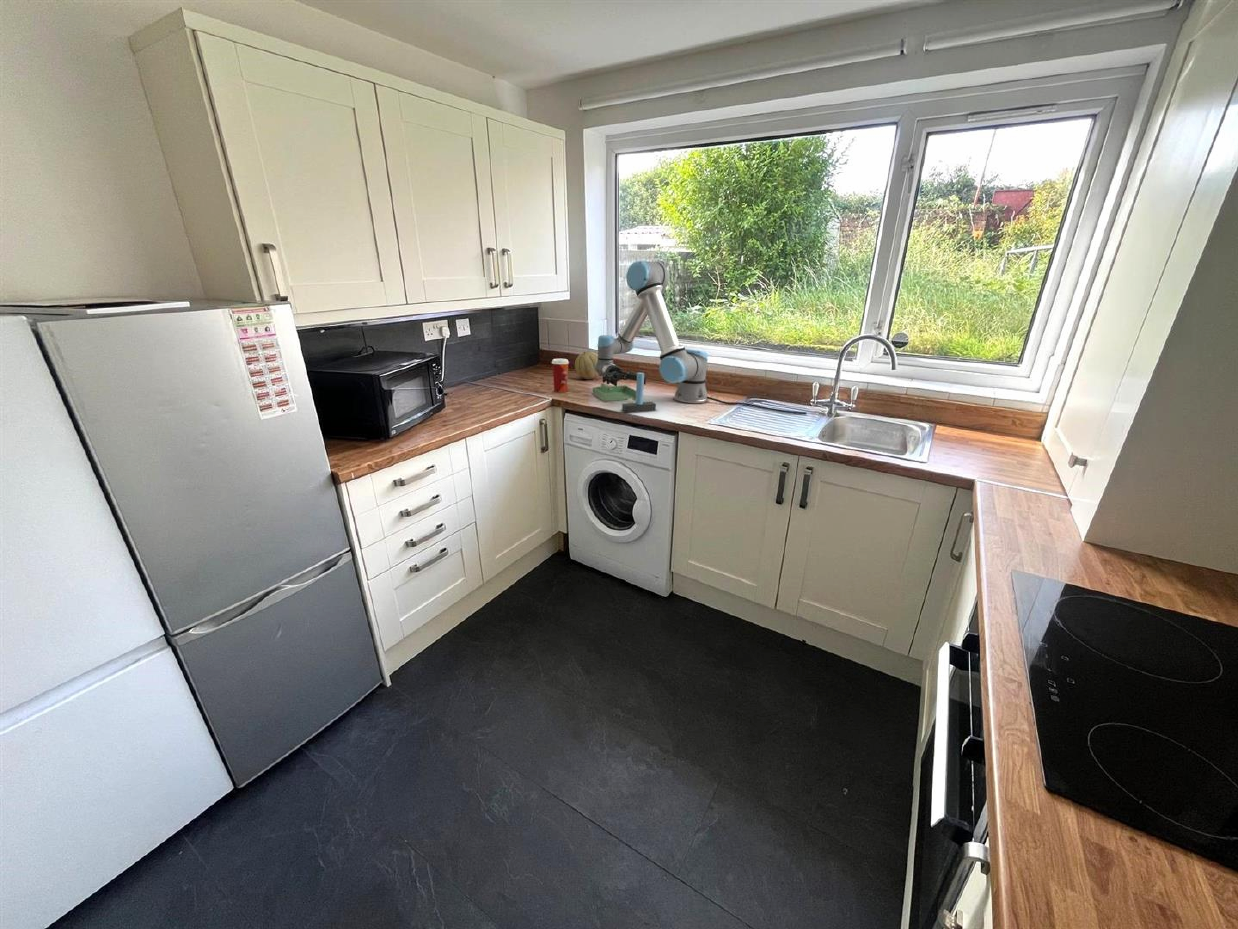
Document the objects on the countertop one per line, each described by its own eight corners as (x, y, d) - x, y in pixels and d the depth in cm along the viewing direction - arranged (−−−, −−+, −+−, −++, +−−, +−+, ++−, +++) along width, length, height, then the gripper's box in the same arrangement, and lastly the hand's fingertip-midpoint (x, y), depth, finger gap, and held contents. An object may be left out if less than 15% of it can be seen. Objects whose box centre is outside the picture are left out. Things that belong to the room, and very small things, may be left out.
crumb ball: (634, 405, 221) (635, 397, 220) (632, 406, 218) (632, 399, 217) (627, 404, 222) (628, 397, 220) (625, 405, 219) (625, 398, 218)
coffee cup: (568, 393, 238) (567, 361, 232) (550, 392, 238) (550, 360, 232) (570, 389, 245) (569, 358, 240) (553, 388, 245) (552, 357, 240)
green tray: (638, 398, 231) (638, 391, 230) (603, 401, 225) (603, 394, 224) (617, 387, 252) (618, 381, 251) (585, 389, 246) (585, 382, 245)
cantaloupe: (607, 378, 272) (608, 350, 266) (592, 383, 260) (592, 354, 254) (584, 375, 279) (585, 347, 273) (569, 379, 267) (569, 350, 261)
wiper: (655, 410, 213) (657, 373, 207) (625, 413, 208) (627, 374, 202) (651, 408, 216) (653, 371, 211) (621, 410, 211) (623, 373, 205)
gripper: (636, 379, 240) (655, 389, 222) (587, 381, 231) (603, 392, 213) (636, 363, 238) (656, 372, 220) (587, 365, 228) (604, 374, 210)
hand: (630, 382), depth 216 cm, fingers open, 13 cm apart
